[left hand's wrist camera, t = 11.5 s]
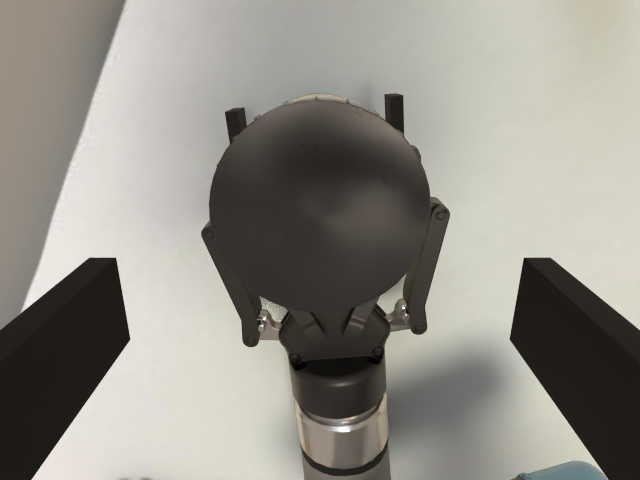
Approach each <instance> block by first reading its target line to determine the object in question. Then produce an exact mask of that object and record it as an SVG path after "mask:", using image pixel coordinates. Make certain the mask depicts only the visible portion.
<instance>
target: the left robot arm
mask: <svg viewBox="0 0 640 480" xmlns="http://www.w3.org/2000/svg"><path fill="white" fill-rule="evenodd" d="M129 341H130V335H129V329H128V324H127V318H126V312H125V306H124V301H123V295H122V289H121V283H120V278H119V272H118V266H117V261H116V258H89V259H87V260H86V261H85V262H84V263H83V264H81V265H80V266H79V267H78V268H76V269H75V270H74V271H73V272H71V273H70V274H69V275H68V276H67V277H65V278H64V279H63V280H62V281H60V282H59V283H58V284H57V285H55V286H54V287H53V288H52V289H51V290H49V291H48V292H47V293H46V294H44V295H43V296H42V297H41V298H39V299H38V300H37V301H36V302H34V303H33V304H32V305H31V306H30V307H28V308H27V309H26V310H25V311H23V312H22V313H21V314H20V315H18V316H17V317H16V318H15V319H14V320H12V321H11V322H10V323H9V324H7V325H6V326H5V327H4V328H3V329H1V330H0V480H31V479H32V478H33V477H34V475H35V474H36V472H37V471H38V469H39V468H40V467H41V465H42V464H43V462H44V461H45V460H46V458H47V457H48V455H49V454H50V452H51V451H52V450H53V448H54V447H55V445H56V444H57V443H58V441H59V440H60V438H61V437H62V435H63V434H64V433H65V431H66V430H67V428H68V427H69V426H70V424H71V423H72V421H73V420H74V418H75V417H76V416H77V414H78V413H79V411H80V410H81V409H82V407H83V406H84V404H85V403H86V401H87V400H88V399H89V397H90V396H91V394H92V393H93V392H94V390H95V389H96V387H97V386H98V384H99V383H100V382H101V380H102V379H103V377H104V376H105V375H106V373H107V372H108V370H109V369H110V367H111V366H112V365H113V363H114V362H115V360H116V359H117V358H118V356H119V355H120V353H121V352H122V350H123V349H124V348H125V346H126V345H127V343H128V342H129ZM510 341H511V342H512V343H513V345H514V346H515V348H516V349H517V350H518V352H519V353H520V355H521V356H522V358H523V359H524V360H525V362H526V363H527V365H528V366H529V367H530V369H531V370H532V372H533V373H534V375H535V376H536V377H537V379H538V380H539V382H540V383H541V384H542V386H543V387H544V389H545V390H546V392H547V393H548V394H549V396H550V397H551V399H552V400H553V401H554V403H555V404H556V406H557V407H558V409H559V410H560V411H561V413H562V414H563V416H564V417H565V418H566V420H567V421H568V423H569V424H570V426H571V427H572V428H573V430H574V431H575V433H576V434H577V435H578V437H579V438H580V440H581V441H582V443H583V444H584V445H585V447H586V448H587V450H588V451H589V452H590V454H591V455H592V457H593V458H594V460H595V461H596V462H597V464H598V465H599V467H600V468H601V469H602V471H603V472H604V474H605V475H606V477H607V478H608V479H609V480H640V330H639V329H638V328H636V327H635V326H634V325H633V324H631V323H630V322H629V321H628V320H626V319H625V318H624V317H623V316H622V315H620V314H619V313H618V312H617V311H615V310H614V309H613V308H612V307H610V306H609V305H608V304H607V303H606V302H604V301H603V300H602V299H601V298H599V297H598V296H597V295H596V294H594V293H593V292H592V291H591V290H589V289H588V288H587V287H586V286H585V285H583V284H582V283H581V282H580V281H578V280H577V279H576V278H575V277H573V276H572V275H571V274H570V273H569V272H567V271H566V270H565V269H564V268H562V267H561V266H560V265H559V264H557V263H556V262H555V261H554V260H553V259H551V258H524V261H523V266H522V272H521V278H520V283H519V289H518V295H517V301H516V306H515V312H514V318H513V324H512V329H511V335H510Z"/></svg>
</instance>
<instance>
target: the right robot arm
mask: <svg viewBox="0 0 640 480" xmlns="http://www.w3.org/2000/svg"><path fill="white" fill-rule="evenodd" d="M225 115H226V121H227V128H228V134H229V140H230V144H231V143H232V139H233V138H234V137H235V136H237V135H238V134H240V133H241V132H242V131H243V130H244V129H245V128H246V127H247V123H246V116H245V109H244V108H234V109H231V110H229V111H226V112H225ZM385 120H386V121H387V122H388V123H389V124H391V125H392V126H393V127H394V128H395V129H396V130H397V129H398V130H399V131H400V132H402V133H403V134H404V113H403V95H400V94H396V93H395V94H385ZM403 137H404V135H403ZM411 146H412V148H413V150H414V151H415V153H416V154H417V156H418V157H419V158H420V162H421V156H420V153H419V151H418V149H417V148H416V147H415V146H414V145H411ZM430 198H431V214H430V222H429V228H428V232H427V235H426V239H425V242H424V244H423V246H422V249H421V251H420V253H419V255H418V257H417V258H416V260H415V262H414V263H413V265H412V266H411V267H410V269H409V270H408V271H407V274H406V278H405V282H404V286H403V299H399V300H398V301H397V302H396V304H395V308H394V311H393V312H392V313H390V314H388V315H387V314H386V313H385V312H384V311H383V310H382V309H381V308H380V307H379V306H378V304H377V301H378V299H379V297H380V296H378V297H377V298H375V299H373V300H371V301H369V302H367V303H365V304H362V305H360V306H357V307H354V308H350V309H346V310H341V311H336V312H324V313H319V312H305V311H298V310H294V309H290V308H286V309H287V310H288V312H287V313H286V315H285V316H284V318H283V319H282V321H281V323H279V322H275V321H274V320H273V319H272V317H271V314H270V313H269V312H268V310H266V309H263V310H262V305H261V300H260V297H259V295H258V294H257V293H255V292H254V291H253V290H251V289H250V288H248V287H247V286H246V285H245V284H244V283H243V282H242V281H241V280H240V279H239V278H238V277H237V276H236V275H235V274H234V272H233V271H232V270H231V269H230V268H229V266H228V265H227V263H226V261H225V260H224V258H223V257H222V255H221V253H220V251H219V249H218V247H217V244H216V241H215V238H214V235H213V232H212V227H211V222H210V220H209V222H208V223H207V224H206V226H205V227H204V228H203V230H202V232H201V235H202V238H203V240H204V243H205V245H206V247H207V249H208V251H209V253H210V255H211V257H212V259H213V262H214V264H215V266H216V268H217V270H218V272H219V274H220V276H221V278H222V281H223V283H224V285H225V287H226V289H227V291H228V293H229V295H230V297H231V300H232V302H233V304H234V306H235V308H236V310H237V312H238V314H239V316H240V319H241V321H242V338H243V343H244V344H245V345H246V346H248V347H254V346H256V345H257V344H258V342H259V340H279V341H280V343H281V344H282V345H283V346H284V348H285V349H286V351H287V353H288V359H289V366H290V374H291V381H292V389H293V395H294V397H295V403H294V404H295V411H296V418H297V424H298V431H299V437H300V445H301V450H302V458H303V468H304V479H305V480H391V475H390V463H389V450H388V413H387V394H386V391H385V390H386V369H385V342H386V340H387V338H388V336H389V334H390V332H392V331H398V330H405V329H411V331H412V332H413V333H414V334H417V335H420V334H423V333H424V332H425V331H426V330H427V321H426V313H425V304H426V300H427V297H428V293H429V289H430V286H431V282H432V279H433V275H434V271H435V268H436V264H437V260H438V257H439V253H440V250H441V246H442V242H443V239H444V235H445V232H446V228H447V224H448V221H449V217H450V212H449V210H448V209H447V208H446V207H445V206H444V204H443V203H442V202H441V201H440V200H439V199H438V198H435V197H430ZM511 480H608V479H607V478H606V477H605V475H604V474H603V473H602V472H601V471H599V470H598V469H597V468H596V467H594V466H593V465H591V464H589V463H586V462H583V461H571V462H567V463H564V464H560V465H557V466H553V467H550V468H546V469H542V470H539V471H535V472H532V473H528V474H526V473H521V474H519V475H518V476H517V477H516V478H514V479H511Z"/></svg>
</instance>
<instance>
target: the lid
mask: <svg viewBox="0 0 640 480" xmlns="http://www.w3.org/2000/svg"><path fill="white" fill-rule="evenodd" d="M379 115H380V114H379V113H377V112H376V111H374V112H372V111H370V110H368V109H366V108H364V107H362V106H360V105H357V104H354V103H351V102H350V101H349V100H348V99H346V101H344V100H339V99H333V98H318V96H315V98H308V99H301V100H297V101H292V102H288V101H286V102H284V103H283V105H281V106H278V107H275V108H274V109H272V110H270V111H268V112H266V113H265V114H263V115H258V116H257V117H255V118H254V119H255V121H254V122H252V123H251V124H250V125H248V126H247V127H246V128H245V129H244V130H243V131H242V132H241V133H240V134H238V135H237V136H235V137H234V138H233V139H232V143H231V144H230V145H229V147H228V148H227V149H226V151H225V153H224V154H223V156H222V158H221V160H220V162H219V164H217V169H216V172H215V174H214V177H213V181H212V186H211V190H210V200H209V211H210V222H211V227H212V232H213V235H214V238H215V241H216V244H217V247H218V249H219V251H220V253H221V255H222V257H223V258H224V260H225V261H226V263H227V265H228V266H229V268H230V269H231V270H232V271H233V272H234V274H235V275H236V276H237V277H238V278H239V279H240V280H241V281H242V282H243V283H244V284H245V285H246V286H247V287H248V288H250V289H251V290H253V291H254V292H255V293H257V294H258V295H260V296H262V297H263V298H265V299H267V300H269V301H271V302H273V303H275V304H278V305H280V306H283V307H286V308H290V309H294V310H298V311H305V312H319V313H324V312H336V311H341V310H346V309H350V308H354V307H357V306H360V305H362V304H365V303H367V302H369V301H371V300H373V299H375V298H377V297H378V296H380V295H382V294H383V293H385V292H386V291H387V290H389V289H390V288H391V287H393V286H394V285H395V284H396V283H397V282H398V281H399V280H400V279H401V278H402V277H403V276H404V275H405V274H406V273H407V271H408V270H409V269H410V267H411V266H412V265H413V263H414V262H415V260H416V258H417V257H418V255H419V253H420V251H421V249H422V246H423V244H424V242H425V239H426V235H427V232H428V228H429V222H430V214H431V198H430V191H429V184H428V181H427V178H426V174H425V171H424V169H423V166H422V164H421V162H420V158H419V157H418V156H417V154H416V153H415V151H414V150H413V148H412V146H411V145H410V144H409V143H408V141H407V140H406V139H405V138H404V137H403V135H404V134H403V133H402V132H400V131H399V130H398V129H397V130H396V129H395V128H394V127H393V126H392V125H391V124H389V123H388V122H387V121H386V120H384V119H383V118H381V117H380V116H379Z"/></svg>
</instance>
